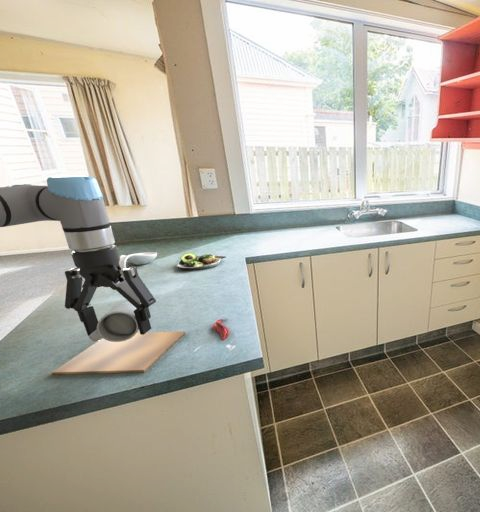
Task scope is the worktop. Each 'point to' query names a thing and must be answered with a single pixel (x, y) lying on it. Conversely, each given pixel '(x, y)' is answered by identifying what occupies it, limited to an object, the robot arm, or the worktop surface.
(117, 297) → the worktop surface
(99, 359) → the cutting board
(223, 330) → the cayenne pepper
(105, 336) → the ceramic mug
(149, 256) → the spoon rest
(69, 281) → the robot arm
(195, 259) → the salad plate
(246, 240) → the worktop surface
